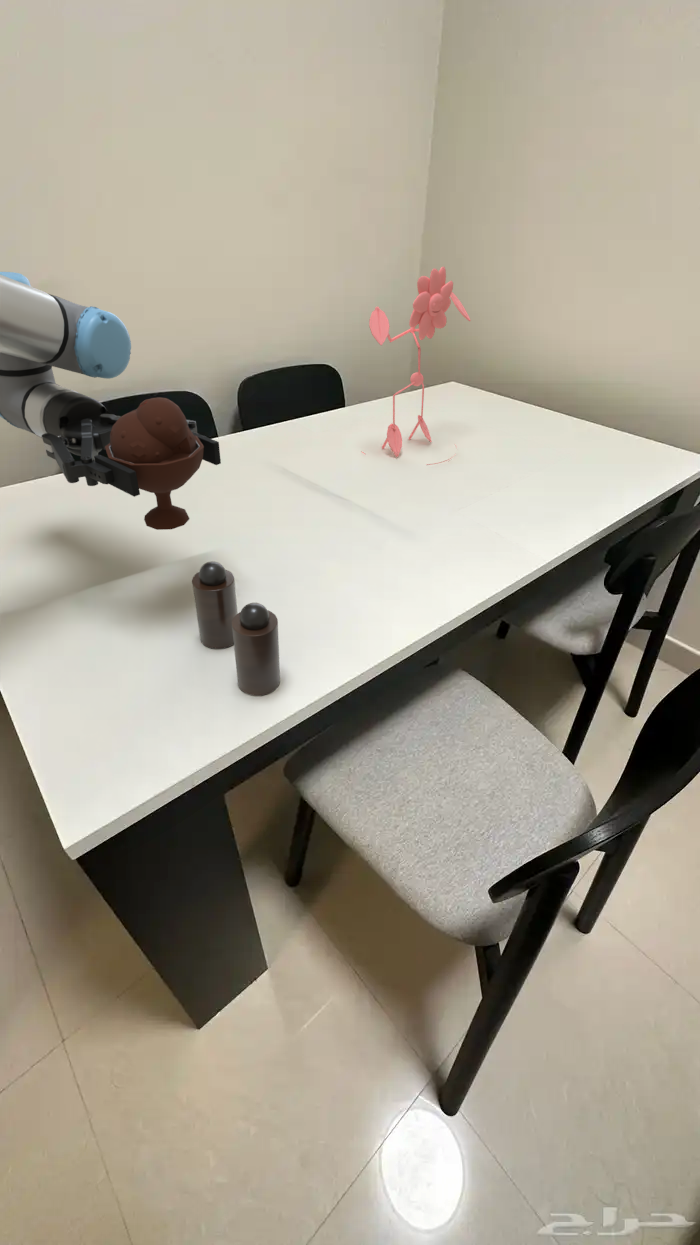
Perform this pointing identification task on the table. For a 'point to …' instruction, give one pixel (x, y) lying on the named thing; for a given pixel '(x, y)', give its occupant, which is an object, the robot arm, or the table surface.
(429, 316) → the figurine
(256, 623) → the walnut mill near
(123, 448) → the ice cream bowl
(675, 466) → the table surface
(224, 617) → the walnut mill middle
